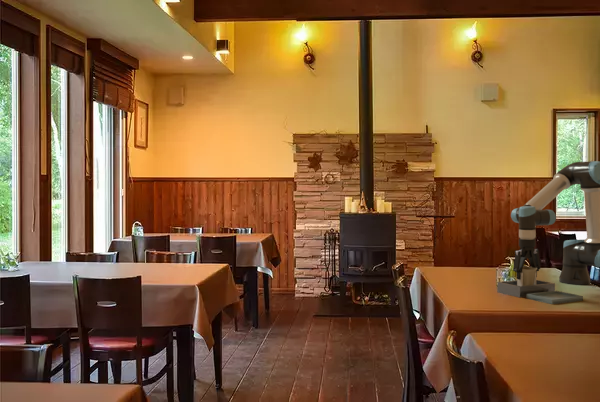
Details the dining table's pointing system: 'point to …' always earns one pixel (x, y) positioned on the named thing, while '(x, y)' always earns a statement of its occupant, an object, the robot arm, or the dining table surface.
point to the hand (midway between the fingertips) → (526, 285)
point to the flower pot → (528, 275)
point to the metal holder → (524, 288)
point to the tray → (554, 297)
